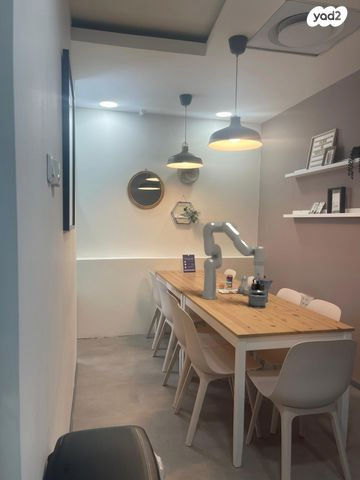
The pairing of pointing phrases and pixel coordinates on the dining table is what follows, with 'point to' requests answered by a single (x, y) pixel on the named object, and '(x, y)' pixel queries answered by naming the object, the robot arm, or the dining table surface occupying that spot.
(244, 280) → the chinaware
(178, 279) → the dining table surface
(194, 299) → the dining table surface
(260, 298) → the pot
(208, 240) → the robot arm
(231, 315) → the dining table surface
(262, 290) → the lid
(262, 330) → the dining table surface
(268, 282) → the moka pot
